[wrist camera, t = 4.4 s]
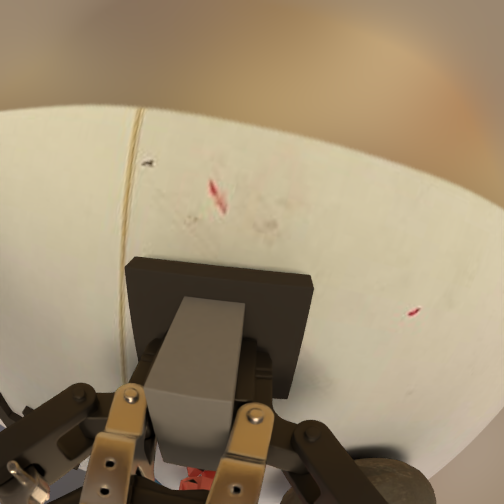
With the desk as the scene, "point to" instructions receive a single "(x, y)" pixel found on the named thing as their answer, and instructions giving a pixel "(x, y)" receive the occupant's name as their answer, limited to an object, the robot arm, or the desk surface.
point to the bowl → (389, 482)
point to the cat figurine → (197, 479)
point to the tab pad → (228, 282)
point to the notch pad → (13, 415)
